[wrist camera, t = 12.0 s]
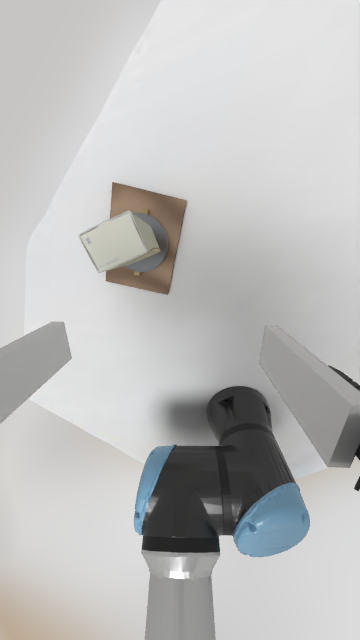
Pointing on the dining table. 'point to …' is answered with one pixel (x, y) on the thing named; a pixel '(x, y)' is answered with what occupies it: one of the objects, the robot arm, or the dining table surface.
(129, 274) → the bayonet base
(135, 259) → the skincare box
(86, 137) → the dining table surface
